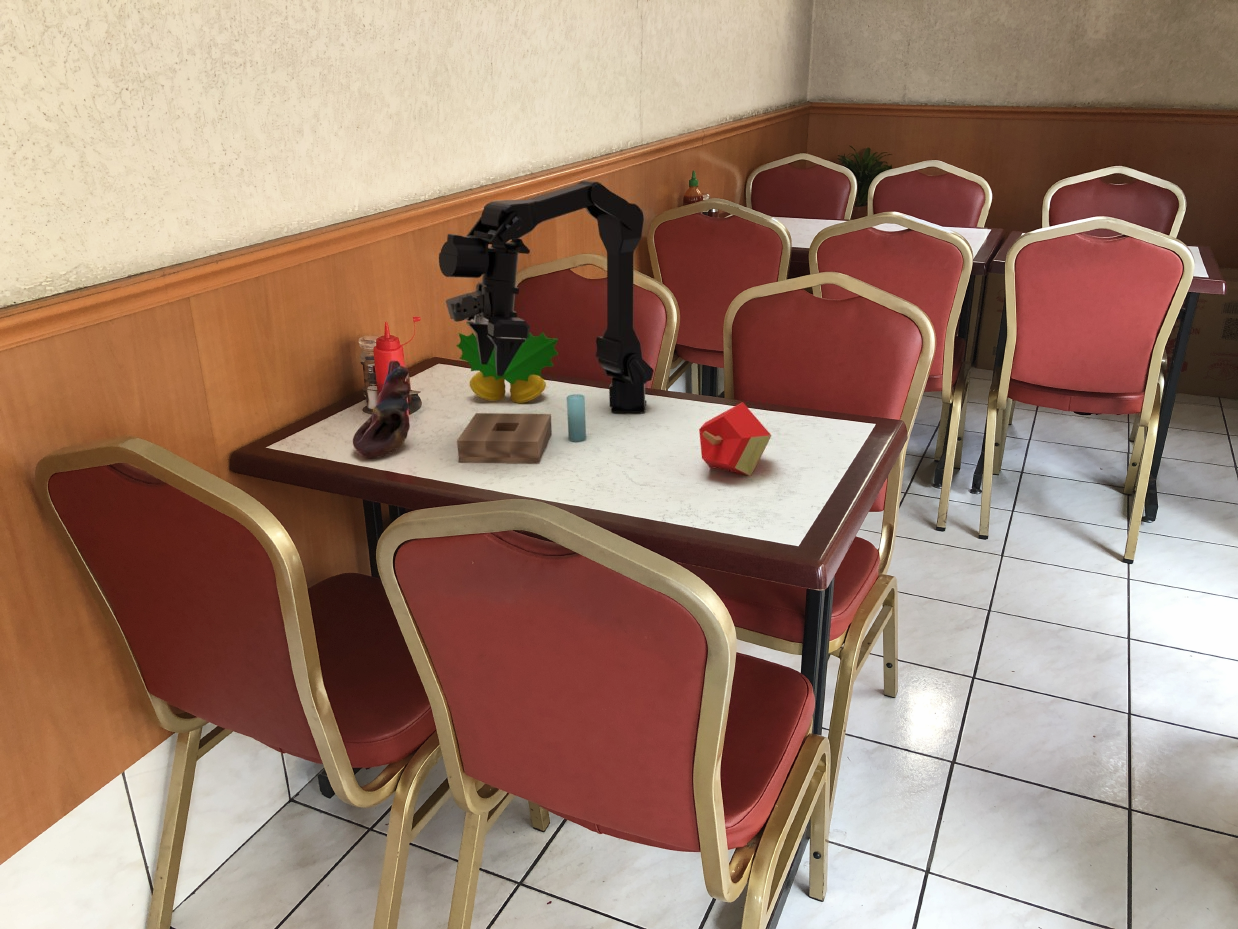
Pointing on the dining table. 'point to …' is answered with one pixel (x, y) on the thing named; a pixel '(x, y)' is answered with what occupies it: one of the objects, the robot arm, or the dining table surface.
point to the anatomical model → (386, 417)
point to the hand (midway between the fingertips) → (491, 369)
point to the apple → (733, 440)
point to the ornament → (510, 369)
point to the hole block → (505, 438)
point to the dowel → (576, 418)
